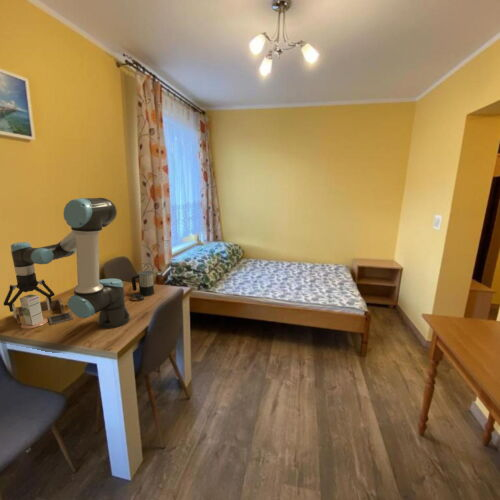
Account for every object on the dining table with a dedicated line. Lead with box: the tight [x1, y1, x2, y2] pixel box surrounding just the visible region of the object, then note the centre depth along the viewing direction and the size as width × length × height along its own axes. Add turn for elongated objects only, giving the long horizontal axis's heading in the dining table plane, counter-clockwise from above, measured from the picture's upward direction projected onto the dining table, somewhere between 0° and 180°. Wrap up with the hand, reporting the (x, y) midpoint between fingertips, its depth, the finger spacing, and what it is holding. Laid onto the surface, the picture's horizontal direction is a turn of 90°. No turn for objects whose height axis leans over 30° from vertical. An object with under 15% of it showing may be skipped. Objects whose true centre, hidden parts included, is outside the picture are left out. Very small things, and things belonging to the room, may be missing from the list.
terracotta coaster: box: [20, 317, 49, 330], centre depth 141 cm, size 11×11×1 cm
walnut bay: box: [15, 298, 66, 325], centre depth 151 cm, size 12×20×5 cm, turn 131°
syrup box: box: [19, 293, 44, 326], centre depth 140 cm, size 6×6×14 cm
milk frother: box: [131, 270, 155, 300], centre depth 177 cm, size 14×16×15 cm
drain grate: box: [47, 311, 74, 326], centre depth 147 cm, size 10×10×1 cm
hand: (32, 313), depth 140 cm, fingers open, 13 cm apart
